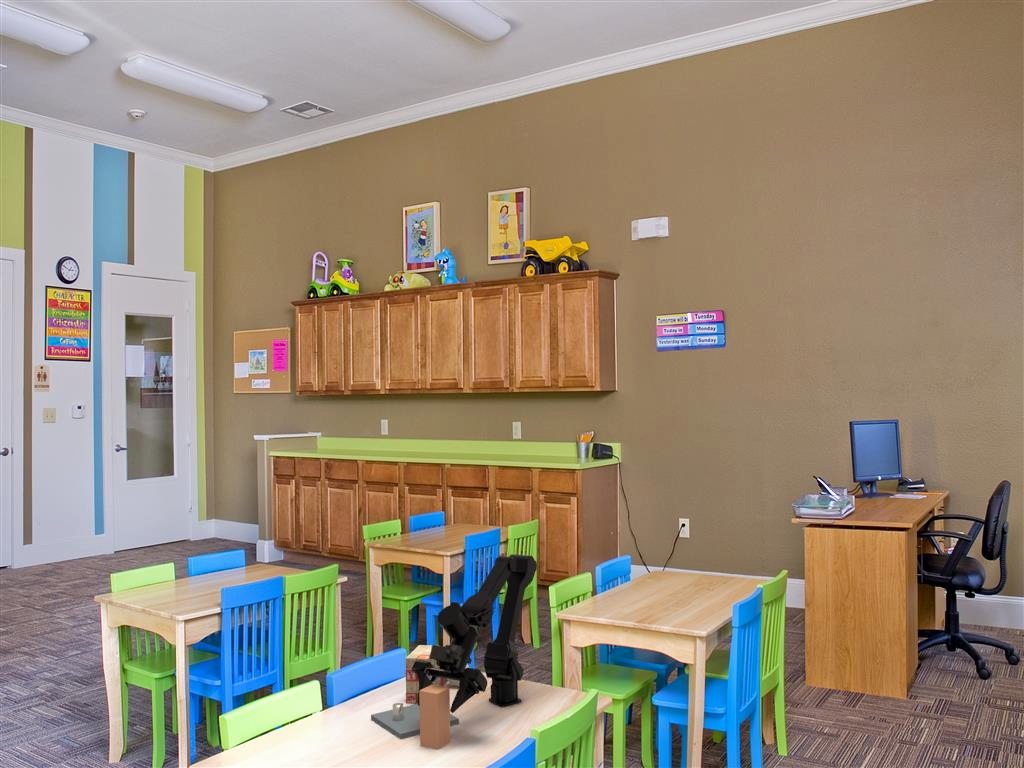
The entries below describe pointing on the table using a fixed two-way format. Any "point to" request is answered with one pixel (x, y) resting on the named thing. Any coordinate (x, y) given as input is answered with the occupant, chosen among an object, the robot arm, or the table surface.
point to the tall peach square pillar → (434, 716)
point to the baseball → (455, 682)
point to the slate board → (404, 721)
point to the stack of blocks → (411, 679)
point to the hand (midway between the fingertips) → (435, 708)
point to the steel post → (398, 712)
